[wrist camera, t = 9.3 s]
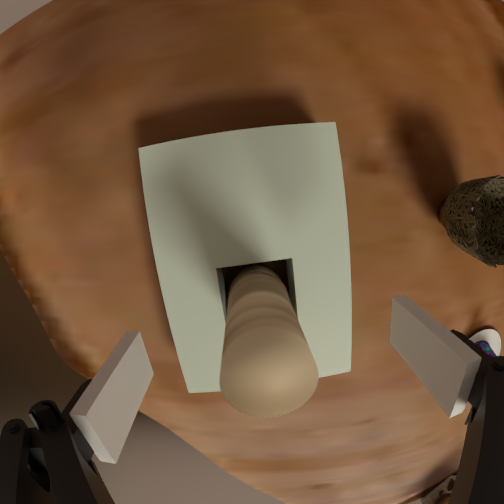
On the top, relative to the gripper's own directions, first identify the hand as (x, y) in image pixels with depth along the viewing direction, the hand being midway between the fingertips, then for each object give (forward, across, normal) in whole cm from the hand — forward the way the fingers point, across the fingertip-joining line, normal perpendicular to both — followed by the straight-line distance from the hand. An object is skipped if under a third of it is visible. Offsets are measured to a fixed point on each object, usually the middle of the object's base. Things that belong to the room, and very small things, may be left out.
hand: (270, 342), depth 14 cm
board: (+11, 0, +1) cm, 11 cm away
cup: (+12, +20, +3) cm, 23 cm away
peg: (+11, 0, -1) cm, 11 cm away
